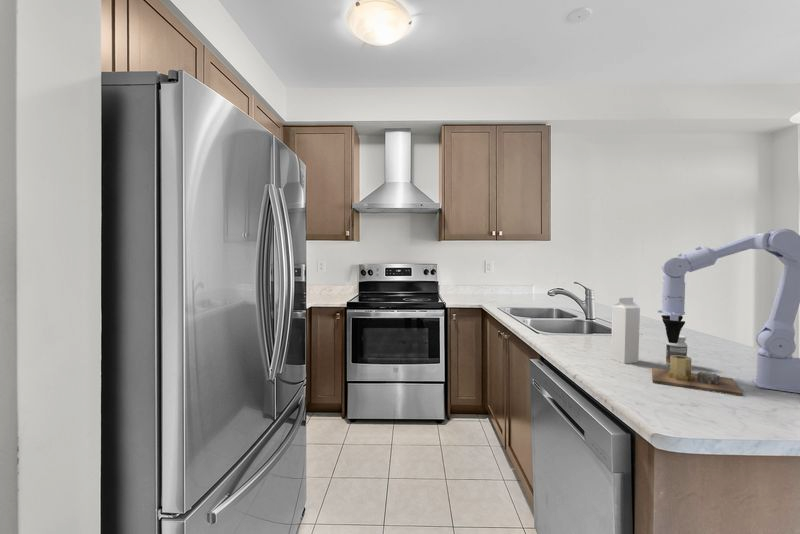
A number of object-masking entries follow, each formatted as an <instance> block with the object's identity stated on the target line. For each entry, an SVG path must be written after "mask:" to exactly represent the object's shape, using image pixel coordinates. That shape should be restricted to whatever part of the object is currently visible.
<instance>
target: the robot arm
mask: <svg viewBox="0 0 800 534" xmlns="http://www.w3.org/2000/svg"><path fill="white" fill-rule="evenodd" d="M748 250H764V251H766V252H768V253H769V254H772V255H773V256H775V257H776V258H777V259H778V260H779V261H780V262H781V263H782V264H783V265H784V266H783V270H782V274H781V277H780V281H779V283H778V286H777V291H776V294H775V297H774V300H773V304H772V307H771V310H770V314H769V317H768V320H766V322H765V323H764V325H763V327H762V329H761V330H760V331H759V332H758V333H757V334H756V337H755V342H756V344H757V345H758V347H759V349H758V350H757V353H756V374H755V378H751V381H752V382H753V383H754V385H755V386H756V387H757V388H760V389H767V390H774V391H782V392H790V393H797V394H800V357H793V354H794V353H795V351H796V347H797V345H796V343H795V335H796V331H795V327H794V324H795V320H796V317H797V314H798V310H799V307H800V234H799V233H797V232H796V231H795V230H792V229H789V228H781V229H774V230H769V231H766V232H760V233H755V234H751V235H747V236H744V237H742V238H738V239H736V240H733V241H730V242H729V243H725V244H723V245H720V246H717V247H714V248H710V247H707V246H703V247H701V246H698V247H695V248H694V249H693V250H692V251H689V252H686V253H684V254H683V253H679V254H677V257H670V258H668V259H666V260H665V261H664V262H663V264H662V266H661V269H662V272H663V280H662V296H661V297H662V299H661V302H662V303H661V309H657V313H659V314H660V313H661V318H662V322H663V324H664V327H665V331H666V332H665V333H666V337H667V342H669V343H676V344H677V342H678V339H679V335H681V331H682V329H683V327H684V326H685V323H686V321H684V320H683V319H684V317H683V316H684V315H685V314H686V311H685V298H686V282H685V281H686V280H685V279H686V277H685V275H686V273H687V272H689V273H692V272H695V271H698V270H701V269H704V268H707V267H711V266H714V265H715V264H716V262H717V260H718V259H721V258H724V257H728V256H731V255H735V254H737V253H741V252H744V251H748ZM662 314H663V315H662Z"/></svg>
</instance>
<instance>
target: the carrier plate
mask: <svg viewBox="0 0 800 534" xmlns="http://www.w3.org/2000/svg"><path fill="white" fill-rule="evenodd" d="M667 371H670V369H665V368H664V369H663V368H656V367H651V376H652V379H651V380H652V384H660V385H665V386H672V387H679V386H680V387H681V388H685V387H687V389H692V388H693V389H694V390H699V389H701V391H706V390H709V391H708V392H712V391H715V392H714V393H719V392H721V394H726V393H727V394H728V395H734V396H739V395H740V396H741V397H742V395H743V392H742V390H741V389H740V387H739V386H738V385H737V383H736V382H735V380H734V379H733V378H731V377H724V376H720V375H718V374H716V373H714V372H713V373H712V372H709V371H708V372H707V371H705V372H703V371H698V372H697V373H694V372H691V374H693V380H687V381H684V380H679V379H678V380H676V379H674V378H672V377H668V375H667ZM680 387H679V388H680ZM727 394H726V395H727Z"/></svg>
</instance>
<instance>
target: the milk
mask: <svg viewBox="0 0 800 534" xmlns="http://www.w3.org/2000/svg"><path fill="white" fill-rule="evenodd" d="M640 313H641V308H640V306H639V305H638V304H636V303H635V302H634V297H632V296H630V297H619V298H618V302H616V303H615V304H613V305H612V309H611V343H610V345H611V346H610V360H613V361H615V362H619V363H621V364H635V363H639V355H640V353H639V351H640V349H639V348H640V322H641V321H640Z"/></svg>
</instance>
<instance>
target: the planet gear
mask: <svg viewBox="0 0 800 534" xmlns="http://www.w3.org/2000/svg"><path fill="white" fill-rule="evenodd" d="M669 370H670V371H667V375H668V377H672V378H674V379H676V380H678V379H679V380H684V381H687V380H693V374H691V373H692V357H689V356H687V357H686V356H681V355H670V365H669Z"/></svg>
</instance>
